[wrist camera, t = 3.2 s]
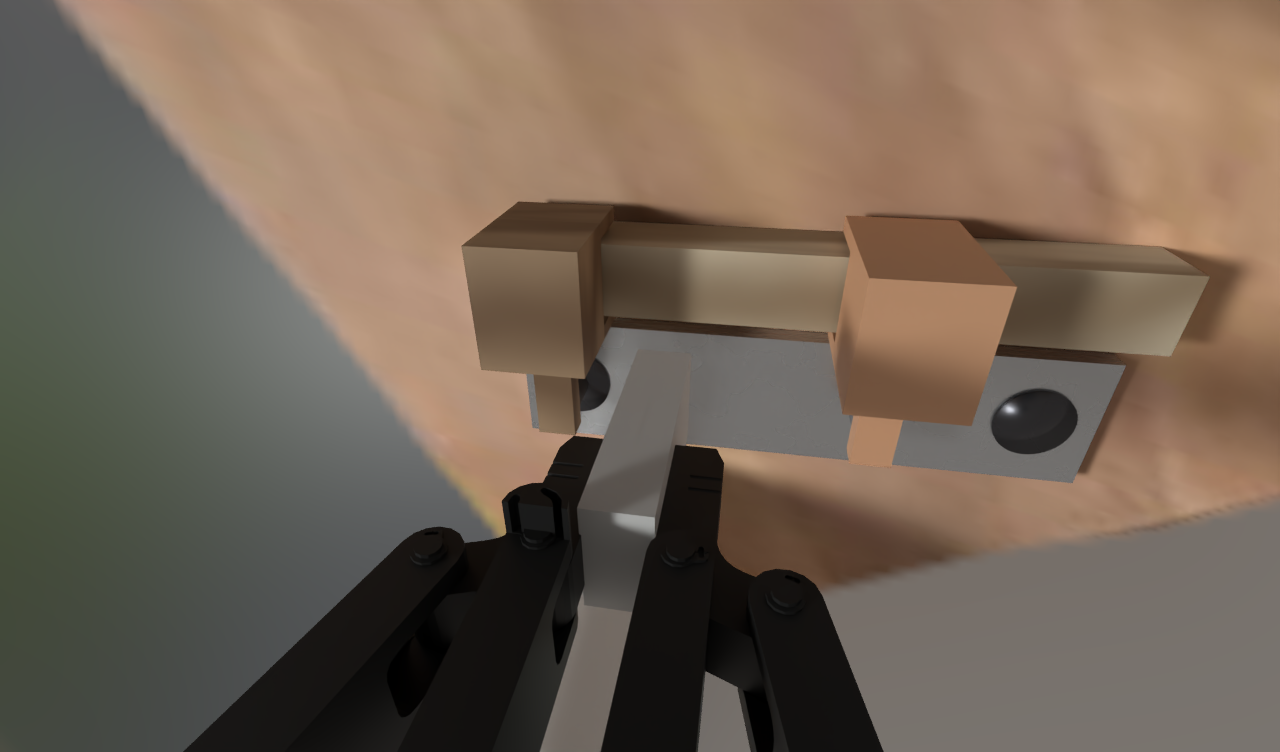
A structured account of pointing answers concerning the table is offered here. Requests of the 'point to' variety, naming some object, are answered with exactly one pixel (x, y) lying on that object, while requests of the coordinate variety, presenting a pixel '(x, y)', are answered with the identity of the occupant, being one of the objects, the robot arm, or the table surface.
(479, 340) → the fixed leg
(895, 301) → the block
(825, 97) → the table surface
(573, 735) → the cup
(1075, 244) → the beam
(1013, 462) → the bolt strip
